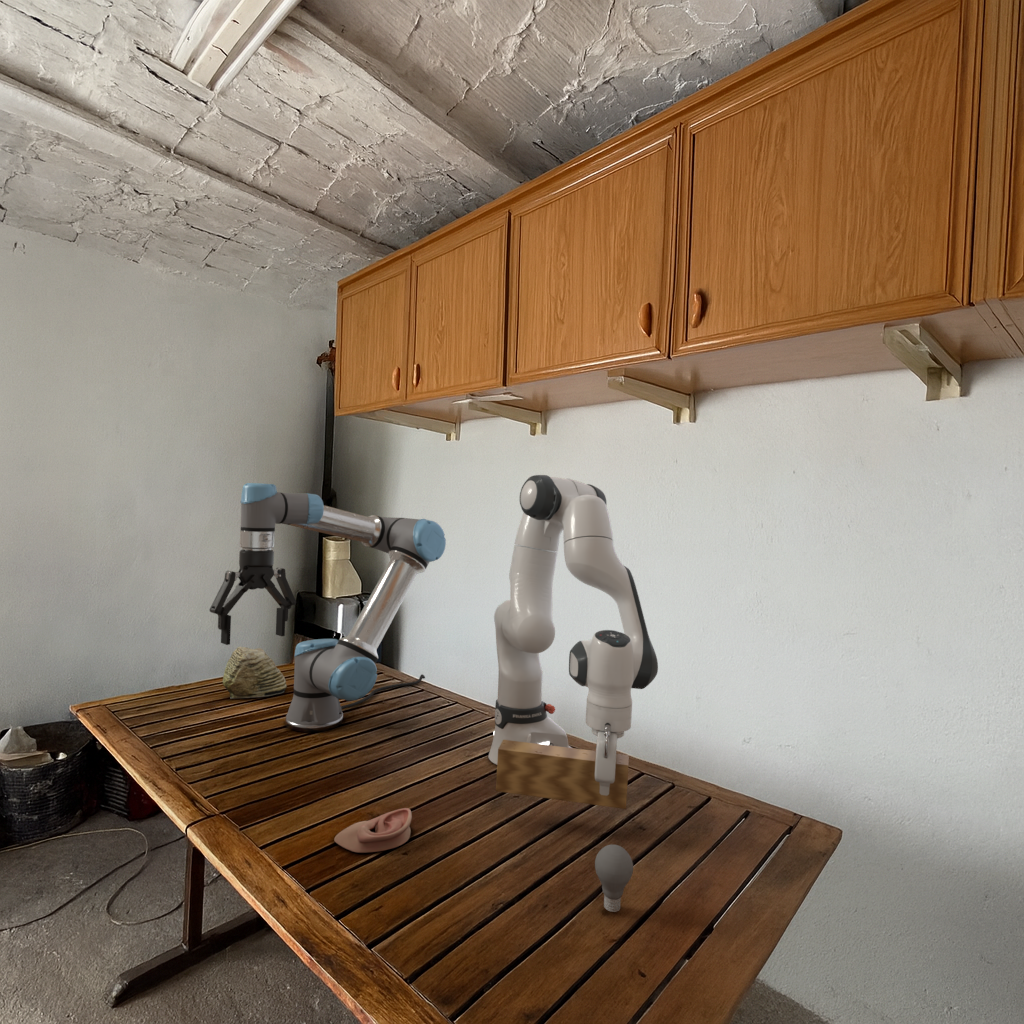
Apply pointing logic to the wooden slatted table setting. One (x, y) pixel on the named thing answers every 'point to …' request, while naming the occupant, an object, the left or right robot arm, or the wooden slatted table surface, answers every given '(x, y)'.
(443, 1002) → the wooden slatted table surface
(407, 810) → the anatomical model
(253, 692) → the fossil
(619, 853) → the light bulb
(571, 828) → the wooden slatted table surface
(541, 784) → the bar
